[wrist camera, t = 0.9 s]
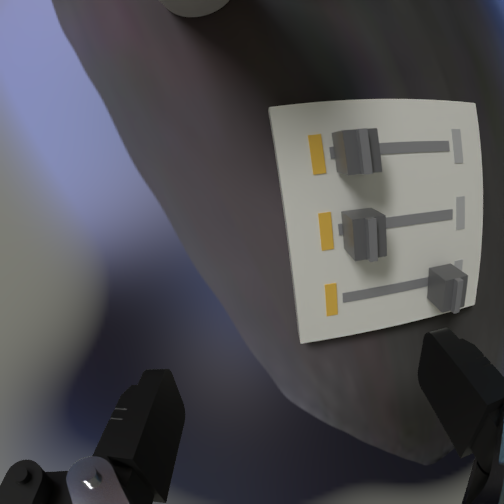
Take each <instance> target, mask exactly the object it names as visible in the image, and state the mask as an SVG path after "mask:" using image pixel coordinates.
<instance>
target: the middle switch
mask: <svg viewBox="0 0 504 504" xmlns="http://www.w3.org/2000/svg"><path fill="white" fill-rule="evenodd" d="M341 217H342V229H343V242H344V249H345V250H346V252H347V253H348V254H349V255H350V256H351V257H352V259H353V260H354V261H360V260H368V261H369V262H374V261H378V258H379V257H385V256H387V237H386V215H384V214H382V213H380V212H379V211H377V210H375V209H373V208H363V209H356V210H348V211H341Z"/></svg>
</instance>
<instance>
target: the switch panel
mask: <svg viewBox="0 0 504 504" xmlns="http://www.w3.org/2000/svg"><path fill="white" fill-rule="evenodd" d="M268 114H269V120H270V126H271V132H272V138H273V144H274V151H275V157H276V164H277V170H278V177H279V184H280V191H281V198H282V205H283V212H284V219H285V227H286V234H287V242H288V250H289V257H290V265H291V274H292V282H293V291H294V299H295V308H296V317H297V326H298V334H299V339H300V343H301V344H302V343H308V342H314V341H320V340H326V339H332V338H337V337H343V336H348V335H353V334H358V333H363V332H368V331H373V330H378V329H383V328H387V327H392V326H396V325H400V324H405V323H409V322H413V321H417V320H421V319H425V318H429V317H433V316H437V315H440V314H444V313H448V312H451V311H448V312H444V313H442V312H441V311H440V310H439V309H438V308H437V307H436V306H435V305H434V304H433V303H431V302H430V301H429V300H428V299H427V291H428V277H429V268H431V267H436V266H441V265H446V264H452V265H454V266H455V267H457V268H458V269H459V270H461V271H462V272H464V273H465V274H467V275H468V282H467V290H466V297H465V304H464V307H462V308H465V307H469V306H472V305H475V298H476V291H477V284H478V276H479V267H480V257H481V244H482V225H483V177H482V158H481V146H480V135H479V126H478V119H477V112H476V105H475V103H468V102H456V101H442V100H422V99H360V100H339V101H324V102H311V103H301V104H291V105H282V106H274V107H269V109H268ZM363 128H367V129H370V128H377V131H378V138H379V146H380V154H381V163H382V172H377V173H373V174H367V175H363V174H357V175H345V174H341V173H337V170H336V162H335V154H334V147H333V140H332V133H333V132H337V131H341V130H354V129H363ZM363 208H373V209H375V210H377V211H379V212H380V213H382V214H384V215H386V237H387V256H385V257H379V258H378V261H374V262H369V261H368V260H360V261H354V260H353V259H352V257H351V256H350V255H349V254H348V253H347V252H346V250H345V249H344V242H343V229H342V217H341V211H348V210H356V209H363ZM462 308H460V309H462Z"/></svg>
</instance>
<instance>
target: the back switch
mask: <svg viewBox="0 0 504 504" xmlns="http://www.w3.org/2000/svg"><path fill="white" fill-rule="evenodd" d="M467 282H468V275H467V274H465V273H464V272H462V271H461V270H459V269H458V268H457V267H455V266H454V265H452V264H446V265H441V266H436V267H431V268H429V277H428V291H427V299H428V300H429V301H430V302H431V303H433V304H434V305H435V306H436V307H437V308H438V309H439V310H440V311H441V312H442V313H444V312H448V311H452V312H453V313H454V314H455V313H459V312H460V308H462V307H464V304H465V297H466V290H467Z"/></svg>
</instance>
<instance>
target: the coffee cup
mask: <svg viewBox="0 0 504 504" xmlns="http://www.w3.org/2000/svg"><path fill="white" fill-rule="evenodd" d="M159 1H160V2H161V3H162V4H163V5H164V6H165V7H166V8H167V9H168V10H169V11H171V12H172V13H174V14H176V15H179V16H183V17H200V16H205V15H208V14H211V13H213V12H215V11H217V10H219V9H220V8H222V7H223V6H224V5H226V4H227V3H228V1H229V0H159Z"/></svg>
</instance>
